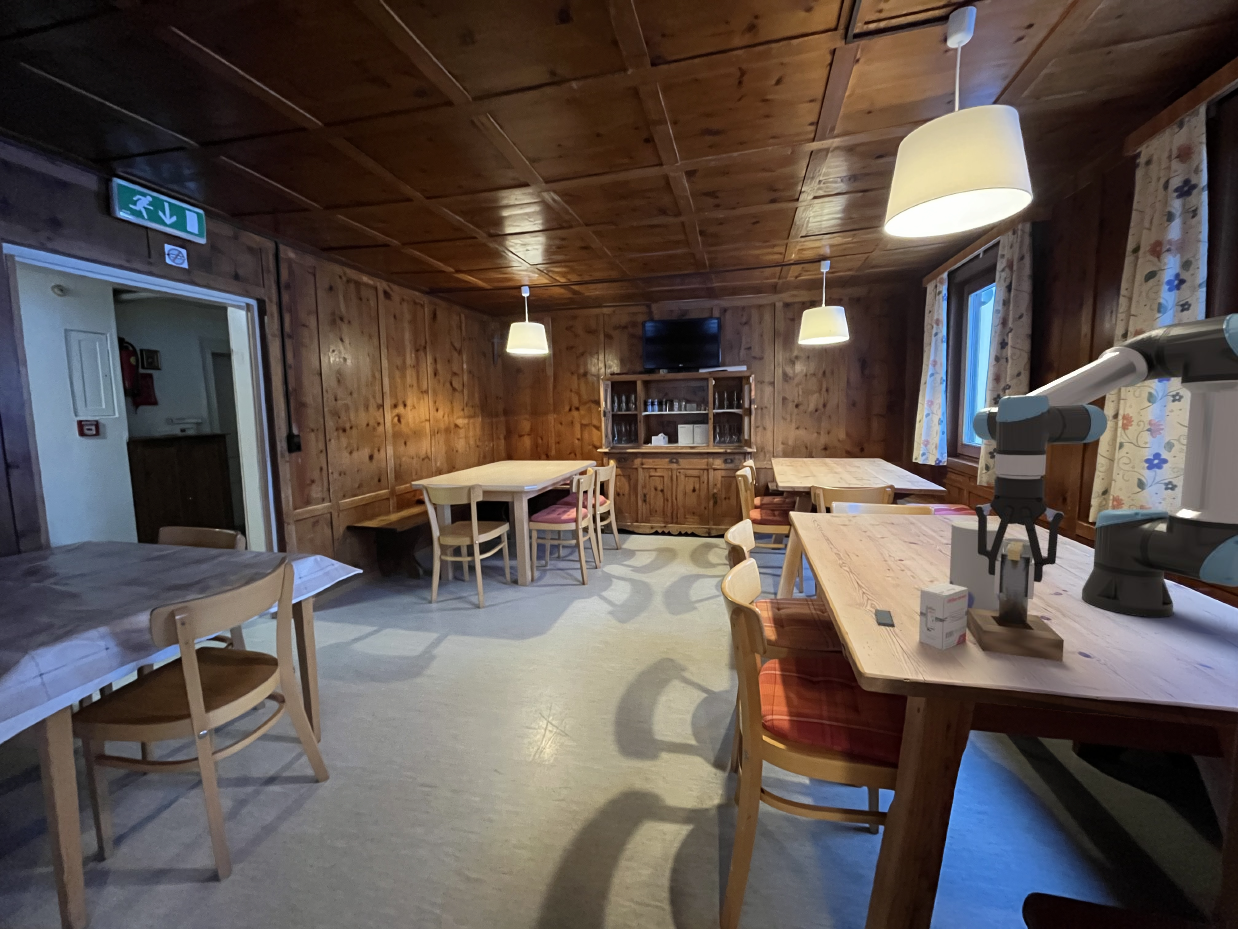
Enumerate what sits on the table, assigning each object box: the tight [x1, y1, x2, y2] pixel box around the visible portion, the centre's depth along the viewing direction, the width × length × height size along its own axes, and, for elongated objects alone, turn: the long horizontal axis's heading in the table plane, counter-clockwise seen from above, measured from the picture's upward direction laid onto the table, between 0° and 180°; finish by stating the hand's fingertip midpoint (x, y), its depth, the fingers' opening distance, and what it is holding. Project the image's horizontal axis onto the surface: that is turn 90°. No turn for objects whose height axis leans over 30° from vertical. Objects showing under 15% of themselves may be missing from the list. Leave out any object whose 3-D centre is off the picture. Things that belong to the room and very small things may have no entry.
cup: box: [1003, 537, 1034, 563], centre depth 145 cm, size 8×10×8 cm
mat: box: [874, 608, 896, 628], centre depth 111 cm, size 8×8×1 cm
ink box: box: [918, 582, 968, 651], centre depth 98 cm, size 9×5×12 cm, turn 118°
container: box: [949, 520, 1005, 611], centre depth 117 cm, size 10×10×20 cm
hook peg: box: [998, 541, 1030, 624], centre depth 96 cm, size 8×4×15 cm, turn 137°
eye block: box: [966, 608, 1065, 662], centre depth 97 cm, size 12×12×5 cm
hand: (1013, 594), depth 96 cm, fingers closed on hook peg, 4 cm apart
